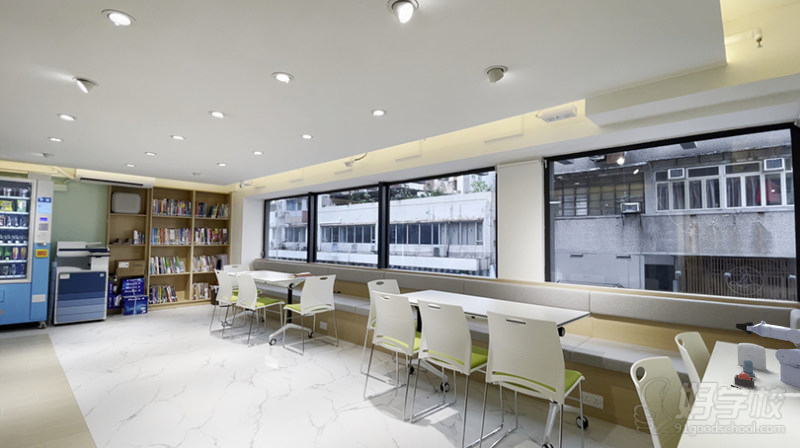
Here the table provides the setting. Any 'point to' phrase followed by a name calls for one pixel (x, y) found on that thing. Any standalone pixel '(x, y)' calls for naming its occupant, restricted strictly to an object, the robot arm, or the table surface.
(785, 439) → the table surface
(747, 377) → the dome
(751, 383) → the game board
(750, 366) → the pawn
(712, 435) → the table surface
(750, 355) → the photo printer
